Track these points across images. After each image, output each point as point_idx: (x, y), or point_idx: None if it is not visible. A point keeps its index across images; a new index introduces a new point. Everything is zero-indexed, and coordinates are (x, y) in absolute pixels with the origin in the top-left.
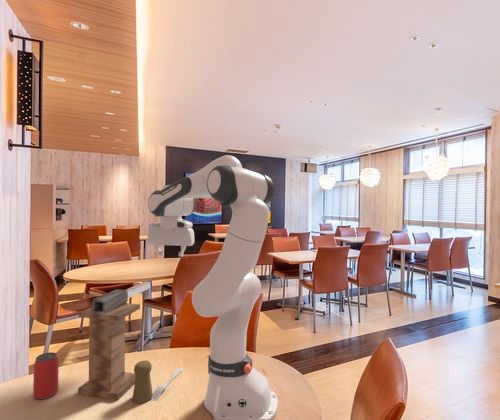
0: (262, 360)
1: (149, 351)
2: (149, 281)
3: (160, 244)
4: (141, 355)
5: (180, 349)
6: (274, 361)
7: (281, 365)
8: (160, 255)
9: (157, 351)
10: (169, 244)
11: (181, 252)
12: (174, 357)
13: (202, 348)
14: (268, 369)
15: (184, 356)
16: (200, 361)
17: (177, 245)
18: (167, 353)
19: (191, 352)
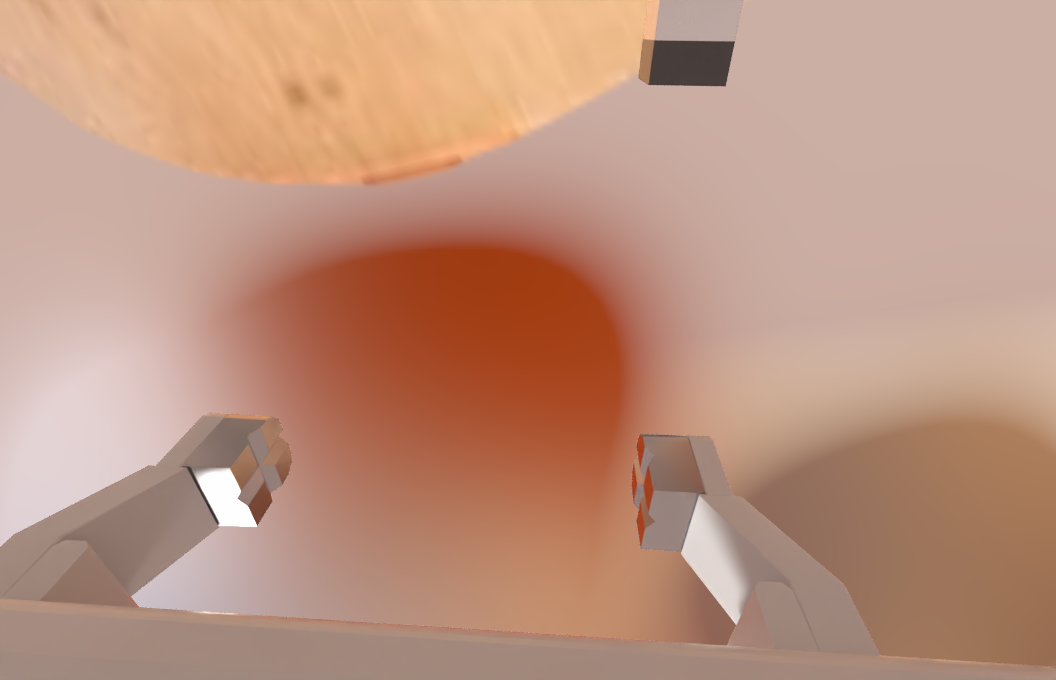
0: (101, 104)
1: (614, 75)
2: (677, 64)
3: (688, 650)
4: (635, 20)
5: (480, 131)
6: (54, 107)
7: (8, 76)
8: (654, 437)
9: (576, 84)
10: (349, 638)
11: (162, 463)
12: (469, 39)
13: (391, 163)
14: (30, 23)
15: (429, 62)
16: (335, 27)
17: (109, 606)
18: (520, 74)
19: (418, 111)
